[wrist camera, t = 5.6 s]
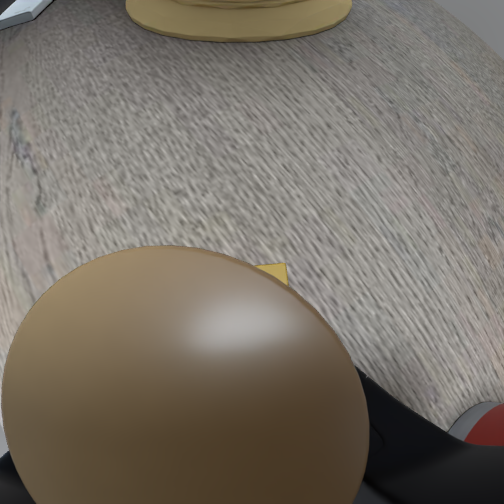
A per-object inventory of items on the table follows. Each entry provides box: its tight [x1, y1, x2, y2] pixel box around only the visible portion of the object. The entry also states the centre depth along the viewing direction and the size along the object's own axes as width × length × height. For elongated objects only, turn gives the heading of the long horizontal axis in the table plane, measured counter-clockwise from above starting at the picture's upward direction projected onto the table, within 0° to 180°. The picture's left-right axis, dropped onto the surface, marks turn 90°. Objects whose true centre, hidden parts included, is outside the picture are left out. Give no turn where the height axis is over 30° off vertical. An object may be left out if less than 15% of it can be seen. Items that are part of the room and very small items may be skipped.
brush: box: [1, 245, 369, 504], centre depth 8 cm, size 5×7×13 cm
